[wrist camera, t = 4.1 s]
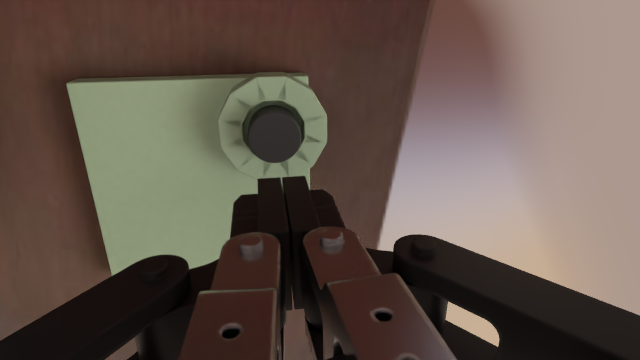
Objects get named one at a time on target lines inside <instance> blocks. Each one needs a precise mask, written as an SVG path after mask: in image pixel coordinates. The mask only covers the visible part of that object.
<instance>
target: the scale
mask: <svg viewBox="0 0 640 360" xmlns="http://www.w3.org/2000/svg"><path fill="white" fill-rule="evenodd" d="M66 86H67V90H68V94H69V99H70V103H71V107H72V111H73V115H74V119H75V124H76V128H77V132H78V136H79V140H80V145H81V149H82V153H83V157H84V161H85V165H86V170H87V174H88V178H89V182H90V186H91V191H92V195H93V199H94V203H95V207H96V211H97V216H98V220H99V224H100V228H101V232H102V237H103V241H104V245H105V249H106V253H107V257H108V262H109V266H110V270H111V274H112V276H113V275H115V274H116V273H118V272H120V271H122V270H123V269H125V268H127V267H128V266H130V265H132V264H134V263H136V262H137V261H140V260H142V259H145V258H148V257H151V256H156V255H176V256H180V257H182V258H184V259H185V260H186V261H187V262H188V265H189V269H192V268H196V267H199V266H203V265H206V264H209V263H211V262H213V261H215V260H217V259H219V256H220V253H221V249H222V246H223V245H224V243H225V242H226V241H227V240H229V239H230V232H231V223H232V213H233V203H234V202H235V201H236V200H237V199H238V198H239V197H240V195H246V194H258V181H257V179H260V178H277V177H280V178H281V184H282V177H292V176H305V177H306V180H307V183H308V186H309V190H310V168H311V167H313V165H314V164H315V162H316V161H317V159H318V157H319V155H320V154H321V152H322V150H323V148H324V147H325V145H326V142H327V115H326V112H325V111H324V109H323V107H322V106H321V104H320V102H319V101H318V99H317V97H316V96H315V94H314V92H313V91H312V89H311V88H310V86H308V76H307V75H306V73H304V72H296V73H285V72H257V73H254V74H224V75H188V76H152V77H116V78H80V79H75V80H72V81H70V82H67V83H66ZM269 105H278V106H282V107H284V108H286V109H288V110H289V111H290V112H291V113H292V114H293V115H294V116H295V118H296V120H297V122H298V125H299V127H300V130H301V144H300V147H299V149H298V151H297V152H296V153H295V155H294V156H292V157H291V158H290V159H288V160H286V161H284V162H280V163H269V162H265V161H263V160H261V159H259V158H258V157H257V156H255V155H254V153H253V152H252V151H251V149H250V147H249V144H248V125H249V121H250V119H251V117H252V116H253V114H254V113H255V112H256V111H257V110H259V109H260V108H262V107H265V106H269Z"/></svg>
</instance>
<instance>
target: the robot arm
mask: <svg viewBox="0 0 640 360" xmlns="http://www.w3.org/2000/svg"><path fill="white" fill-rule="evenodd" d="M257 181H258V194H246V195H240V197H239V198H238V199H237V200H236V201H235V202H234V203H233V213H232V223H231V232H230V239H229V240H227V241H226V242H225V243H224V245H223V246H222V249H221V253H220V256H219V259H217V260H215V261H213V262H211V263H209V264H206V265H203V266H199V267H196V268H192V269H189V265H188V262H187V261H186V260H185V259H184V258H182V257H180V256H176V255H156V256H151V257H148V258H145V259H142V260H140V261H137V262H136V263H134V264H132V265H130V266H128V267H127V268H125V269H123V270H122V271H120V272H118V273H116V274H115V275H113V276H111V277H110V278H108V279H106V280H104V281H103V282H101V283H99V284H97V285H96V286H94V287H92V288H91V289H89V290H87V291H85V292H84V293H82V294H80V295H79V296H77V297H75V298H73V299H72V300H70V301H68V302H66V303H65V304H63V305H61V306H60V307H58V308H56V309H54V310H53V311H51V312H49V313H47V314H46V315H44V316H42V317H41V318H39V319H37V320H35V321H34V322H32V323H30V324H29V325H27V326H25V327H23V328H22V329H20V330H18V331H16V332H15V333H13V334H11V335H10V336H8V337H6V338H4V339H3V340H1V341H0V360H105V359H106V358H107V357H109V356H110V355H111V354H113V353H114V352H115V351H117V350H118V349H119V348H121V347H122V346H123V345H125V344H126V343H127V342H129V341H130V340H131V339H133V338H134V337H135V341H136V346H137V350H138V351H137V352H136V353H135V354H134V355H132V356H131V357H130V358H129V359H127V360H285V332H284V325H285V323H286V310H292V293H293V300H294V307H295V309H304V312H305V332H306V336H307V340H308V344H309V347H310V351H311V355H312V358H313V360H640V316H639V315H637V314H634V313H632V312H629V311H626V310H624V309H621V308H619V307H616V306H613V305H611V304H608V303H605V302H603V301H600V300H598V299H595V298H592V297H590V296H587V295H584V294H582V293H579V292H577V291H574V290H572V289H569V288H566V287H564V286H561V285H559V284H556V283H553V282H551V281H548V280H546V279H543V278H540V277H538V276H535V275H532V274H530V273H527V272H525V271H522V270H519V269H517V268H514V267H512V266H509V265H506V264H504V263H501V262H499V261H496V260H493V259H491V258H488V257H486V256H483V255H480V254H477V253H475V252H473V251H470V250H467V249H465V248H462V247H460V246H457V245H454V244H452V243H449V242H447V241H444V240H441V239H439V238H436V237H432V236H428V235H408V236H404V237H402V238H400V239H398V240H397V241H396V242H395V244H394V251H393V252H391V251H381V250H374V249H369V248H366V247H364V245H363V243H362V242H361V240H360V239H359V237H358V236H357V234H355V233H354V232H352V231H351V230H348V229H346V228H345V225H344V223H343V220H342V218H341V216H340V213H339V212H338V209H337V206H336V205H335V202H334V199H333V197H332V195H330V194H329V193H327V192H326V191H324V190H323V189H321V190H309V186H308V183H307V180H306V177H305V176H292V177H282V184H281V178H280V177H277V178H260V179H257ZM291 286H292V290H291ZM448 301H449V302H451V303H453V304H455V305H457V306H459V307H461V308H463V309H465V310H467V311H469V312H472V313H474V314H476V315H478V316H480V317H482V318H484V319H486V320H487V321H489V322H490V323H491V324H492V325H493V326H494V327H495V328H496V330H497V332H498V334H499V338H500V340H499V346H498V347H497V346H495V345H493V344H491V343H489V342H487V341H485V340H483V339H481V338H479V337H477V336H476V335H473V334H472V333H469V332H468V331H466V330H464V329H462V328H460V327H458V326H456V325H454V324H452V323H450V322H448V321H446V320H445V319H446V311H447V304H448Z"/></svg>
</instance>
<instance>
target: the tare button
mask: <svg viewBox="0 0 640 360" xmlns="http://www.w3.org/2000/svg"><path fill="white" fill-rule="evenodd" d="M248 144H249V147H250V149H251V151H252V152H253V153H254V155H255V156H257V157H258V158H259V159H261V160H263V161H265V162H269V163H280V162H284V161H286V160H288V159H290V158H291V157H292V156H294V155H295V153H296V152H297V151H298V149H299V147H300V144H301V130H300V127H299V125H298V122H297V120H296V118H295V116H294V115H293V114H292V113H291V112H290V111H289V110H288V109H286V108H284V107H282V106H278V105H269V106H265V107H262V108H260V109H259V110H257V111H256V112H255V113H254V114H253V116H252V117H251V119H250V121H249V125H248Z"/></svg>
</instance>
